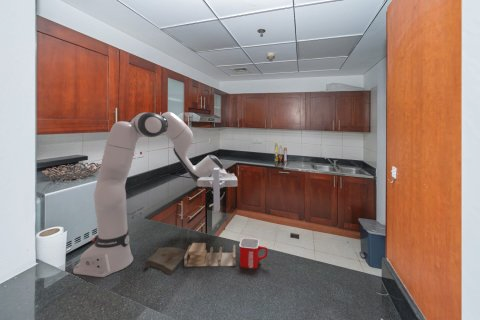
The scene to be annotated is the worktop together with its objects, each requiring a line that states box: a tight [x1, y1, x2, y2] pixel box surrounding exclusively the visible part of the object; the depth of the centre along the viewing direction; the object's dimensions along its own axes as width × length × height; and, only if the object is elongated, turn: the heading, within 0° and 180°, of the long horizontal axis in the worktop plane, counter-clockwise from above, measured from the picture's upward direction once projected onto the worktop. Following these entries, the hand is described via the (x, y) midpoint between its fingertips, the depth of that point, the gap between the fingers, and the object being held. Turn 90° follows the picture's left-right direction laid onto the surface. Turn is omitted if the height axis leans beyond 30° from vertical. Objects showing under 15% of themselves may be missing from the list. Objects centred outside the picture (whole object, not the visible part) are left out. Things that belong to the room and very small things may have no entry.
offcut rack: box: [183, 244, 236, 267], centre depth 94 cm, size 22×10×6 cm, turn 92°
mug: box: [239, 237, 268, 269], centre depth 91 cm, size 12×8×11 cm
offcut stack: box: [188, 242, 208, 265], centre depth 93 cm, size 7×8×6 cm
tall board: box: [212, 168, 221, 213], centre depth 98 cm, size 2×6×20 cm, turn 2°
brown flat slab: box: [145, 246, 187, 276], centre depth 92 cm, size 17×15×4 cm
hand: (216, 185), depth 97 cm, fingers closed on tall board, 2 cm apart
